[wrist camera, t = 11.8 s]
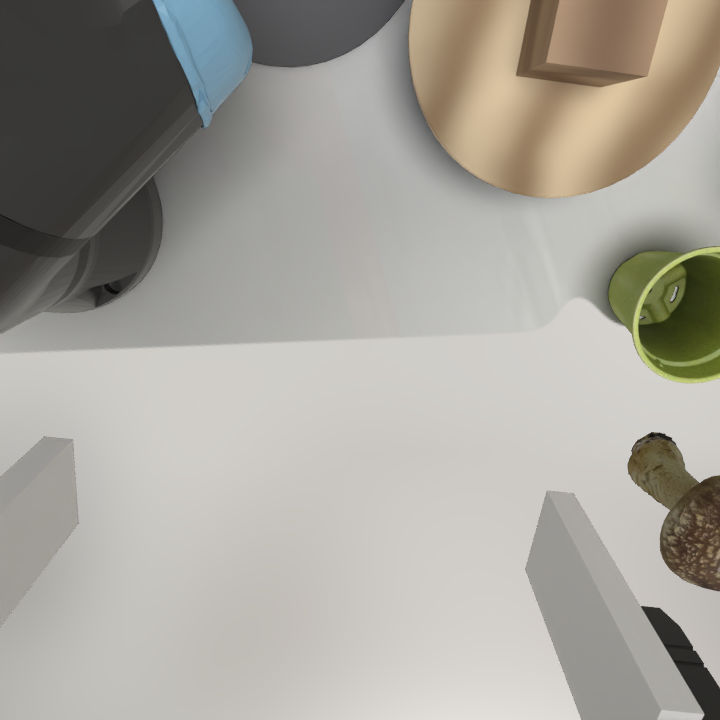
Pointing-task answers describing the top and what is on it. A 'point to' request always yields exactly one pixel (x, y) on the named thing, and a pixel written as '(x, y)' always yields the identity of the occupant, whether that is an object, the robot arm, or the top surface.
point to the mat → (311, 28)
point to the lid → (560, 85)
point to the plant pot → (672, 311)
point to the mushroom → (681, 509)
